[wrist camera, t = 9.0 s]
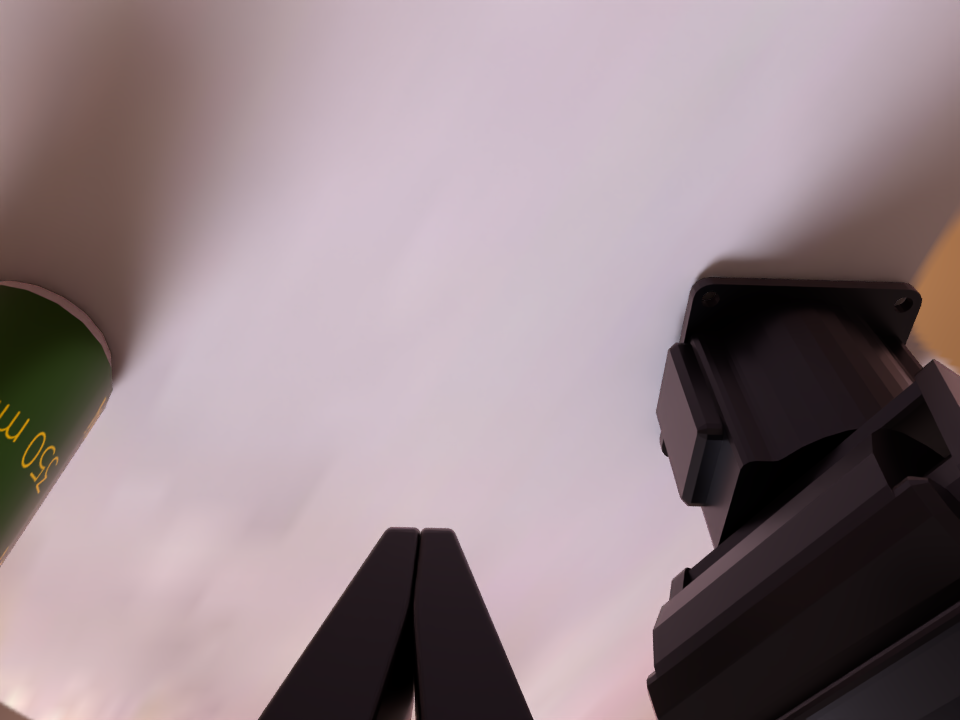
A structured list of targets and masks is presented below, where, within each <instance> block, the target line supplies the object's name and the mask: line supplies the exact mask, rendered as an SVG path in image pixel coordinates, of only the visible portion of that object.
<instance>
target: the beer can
mask: <svg viewBox="0 0 960 720" xmlns="http://www.w3.org/2000/svg"><path fill="white" fill-rule="evenodd" d="M112 390H113V388H112V365H111V352H110V350H109V348H108V345H107V343H106V341H105V338H104V336H103V334H102V332H101V331H100V330H99V329H98V327H97V326H96V325H95V324H94V322H93V321H92V320H91V319H90V318H89V316H88V315H87V314H86V313H85V312H83V311H82V310H81V309H79V308H78V307H77V306H75V305H74V304H73V303H71V302H70V301H69V300H67V299H66V298H65V297H63V296H60V295H58V294H56V293H54V292H51V291H49V290H47V289H45V288H43V287H40V286H37V285H32V284H27V283H22V282H17V281H0V567H1V565H2V564H3V562H4V560H5V559H6V557H7V556H8V554H9V553H10V551H11V550H12V548H13V547H14V545H15V544H16V542H17V541H18V539H19V538H20V536H21V535H22V533H23V532H24V530H25V529H26V527H27V526H28V524H29V523H30V521H31V520H32V518H33V516H34V515H35V513H36V512H37V510H38V509H39V507H40V506H41V504H42V503H43V501H44V500H45V498H46V497H47V495H48V494H49V492H50V491H51V489H52V488H53V486H54V485H55V483H56V482H57V480H58V479H59V477H60V476H61V474H62V472H63V471H64V469H65V468H66V466H67V465H68V463H69V462H70V460H71V459H72V457H73V456H74V454H75V453H76V451H77V450H78V448H79V447H80V445H81V444H82V442H83V441H84V439H85V438H86V436H87V435H88V433H89V432H90V430H91V429H92V427H93V425H94V424H95V422H96V421H97V419H98V418H99V416H100V415H101V413H102V412H103V410H104V409H105V407H106V404H107V402H108V400H109V397H110V395H111V392H112Z"/></svg>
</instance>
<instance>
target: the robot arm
mask: <svg viewBox="0 0 960 720" xmlns="http://www.w3.org/2000/svg"><path fill="white" fill-rule="evenodd" d="M707 292H716V294H715V296H714V297H713V298H712V299H710V300H702V297H703V295H705V294H706V293H707ZM904 297H906V299H905V301H904V302H903V303H901V304H900V305H896V306H894V305H895V303H896V302H897V301H898V300H899V299H901V298H904ZM921 303H922V298H921V295H920V294H919V293H918V292H917V290H916V289H915V288H914V287H913V286H911V285H910V284H907V283H897V282H862V281H827V280H792V279H757V278H722V277H708V278H703V279H701V280H699V281H697V282H696V283H695V284H694V285H693V286H692V288H691V291H690V294H689V299H688V304H687V309H686V313H685V318H684V323H683V328H682V333H681V338H680V342H679V343H675V344H674V345H673V346H672V347H671V348H670V349H669V350H668V354H667V359H666V364H665V369H664V374H663V379H662V384H661V389H660V394H659V399H658V404H657V409H656V414H657V418H658V421H659V425H660V428H661V434H660V445H661V449H662V452H663V453H664V455H666V456H667V457H669V460H670V463H671V467H672V470H673V474H674V477H675V481H676V484H677V488H678V491H679V495H680V498H681V499H682V501H683V502H684V503H685V504H686V505H687V506H701V508H702V511H703V514H704V517H705V521H706V524H707V527H708V530H709V533H710V537H711V540H712V543H713V546H714V550H713V551H712V552H711V553H709V554H708V555H707V556H706V557H705V558H704V559H702V560H701V561H700V562H699V563H698V564H696V565H695V566H694V567H693V568H692V569H691V568H685V569H684V570H683V571H682V572H681V573H679V574H678V575H677V576H676V577H675V578H673V580H672V583H671V591H670V598H669V601H668V602H667V603H666V604H665V605H663V606H662V608H661V610H660V613H659V615H658V618H657V621H656V623H655V626H654V629H653V651H654V668H655V671H654V672H653V673H652V674H650V675H649V676H648V678H647V689H648V695H649V698H650V701H651V704H652V707H653V710H654V713H655V716H656V719H657V720H960V376H959V375H957V374H956V373H954V372H953V371H951V370H950V369H948V368H947V367H945V366H944V365H943V364H941V363H940V362H938V361H936V360H935V359H933V360H932V361H931V362H929V363H928V364H927V365H926V366H925V367H924V368H923V367H922V366H921V365H920V364H919V362H918V361H917V360H916V359H915V357H914V356H913V355H912V354H911V352H910V351H909V350H908V349H907V347H906V346H905V344H906V341H907V339H908V336H909V334H910V332H911V329H912V327H913V324H914V322H915V319H916V317H917V314H918V312H919V309H920V307H921ZM414 692H415V719H416V720H533V717H532V715H531V713H530V710H529V708H528V706H527V703H526V701H525V698H524V696H523V694H522V691H521V689H520V686H519V684H518V682H517V679H516V677H515V675H514V672H513V670H512V667H511V665H510V663H509V660H508V658H507V655H506V653H505V651H504V648H503V646H502V644H501V641H500V639H499V636H498V634H497V632H496V629H495V627H494V624H493V622H492V620H491V617H490V615H489V613H488V610H487V608H486V605H485V603H484V601H483V598H482V596H481V593H480V591H479V589H478V586H477V584H476V582H475V579H474V577H473V574H472V572H471V570H470V567H469V565H468V562H467V560H466V558H465V555H464V553H463V551H462V548H461V546H460V543H459V541H458V539H457V536H456V534H455V532H454V531H453V530H452V529H449V528H424V529H423V530H422V531H421V534H420V531H419V530H418V529H417V528H413V527H390V528H388V529H387V530H386V531H385V532H384V533H383V535H382V536H381V538H380V539H379V541H378V542H377V544H376V545H375V547H374V548H373V550H372V551H371V553H370V554H369V556H368V557H367V559H366V560H365V561H364V563H363V564H362V566H361V567H360V569H359V570H358V572H357V573H356V575H355V576H354V578H353V579H352V581H351V582H350V584H349V585H348V587H347V588H346V590H345V591H344V593H343V594H342V596H341V597H340V599H339V600H338V601H337V603H336V604H335V606H334V607H333V609H332V610H331V612H330V613H329V615H328V616H327V618H326V619H325V621H324V622H323V624H322V625H321V627H320V628H319V630H318V631H317V633H316V634H315V636H314V637H313V639H312V640H311V641H310V643H309V644H308V646H307V647H306V649H305V650H304V652H303V653H302V655H301V656H300V658H299V659H298V661H297V662H296V664H295V665H294V667H293V668H292V670H291V671H290V673H289V674H288V676H287V677H286V679H285V680H284V682H283V683H282V684H281V686H280V687H279V689H278V690H277V692H276V693H275V695H274V696H273V698H272V699H271V701H270V702H269V704H268V705H267V707H266V708H265V710H264V711H263V713H262V714H261V716H260V717H259V719H258V720H411V716H412V710H413V703H414Z"/></svg>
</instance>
